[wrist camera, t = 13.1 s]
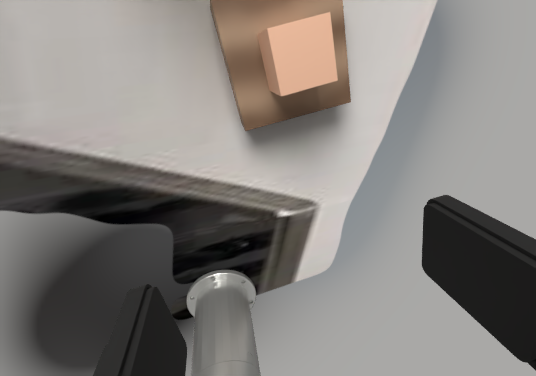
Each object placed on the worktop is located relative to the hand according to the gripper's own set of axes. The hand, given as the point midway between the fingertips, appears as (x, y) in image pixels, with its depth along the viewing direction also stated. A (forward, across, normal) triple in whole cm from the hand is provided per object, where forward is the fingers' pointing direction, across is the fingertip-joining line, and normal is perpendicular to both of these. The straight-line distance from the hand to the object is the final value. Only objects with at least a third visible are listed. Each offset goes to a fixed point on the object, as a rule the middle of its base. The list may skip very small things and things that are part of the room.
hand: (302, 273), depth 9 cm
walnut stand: (+31, -8, -7) cm, 33 cm away
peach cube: (+26, -8, -6) cm, 28 cm away
